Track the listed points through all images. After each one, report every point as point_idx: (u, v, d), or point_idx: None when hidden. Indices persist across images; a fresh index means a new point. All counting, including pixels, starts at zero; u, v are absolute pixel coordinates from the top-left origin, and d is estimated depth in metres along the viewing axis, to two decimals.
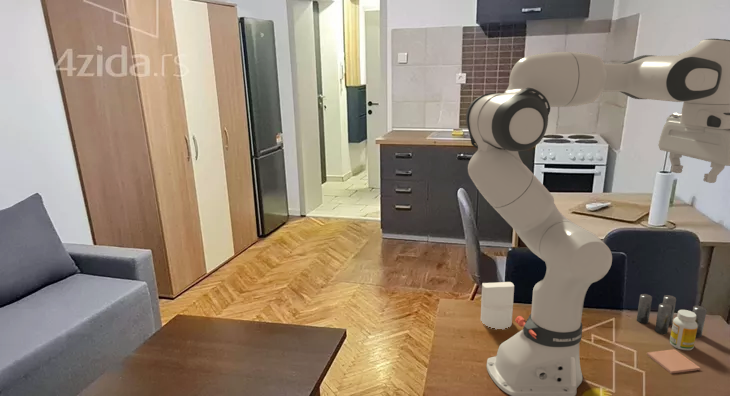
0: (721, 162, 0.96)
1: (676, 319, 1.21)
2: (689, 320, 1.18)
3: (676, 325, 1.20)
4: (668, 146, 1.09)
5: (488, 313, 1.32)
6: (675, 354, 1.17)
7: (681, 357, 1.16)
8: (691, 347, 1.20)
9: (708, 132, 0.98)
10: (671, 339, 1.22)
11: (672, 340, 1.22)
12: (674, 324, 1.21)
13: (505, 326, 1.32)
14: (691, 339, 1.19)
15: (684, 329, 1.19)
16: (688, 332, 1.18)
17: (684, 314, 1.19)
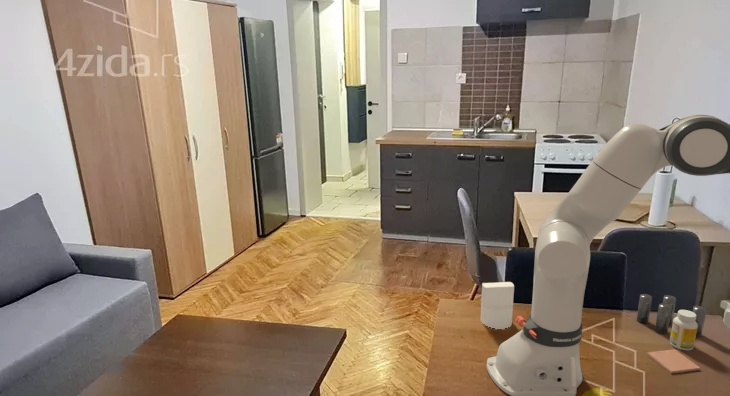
0: None
1: (676, 319, 1.21)
2: (689, 320, 1.18)
3: (676, 325, 1.20)
4: None
5: (488, 313, 1.32)
6: (675, 354, 1.17)
7: (681, 357, 1.16)
8: (691, 347, 1.20)
9: None
10: (671, 339, 1.22)
11: (672, 340, 1.22)
12: (674, 324, 1.21)
13: (505, 326, 1.32)
14: (691, 338, 1.19)
15: (684, 329, 1.19)
16: (688, 332, 1.18)
17: (684, 314, 1.19)
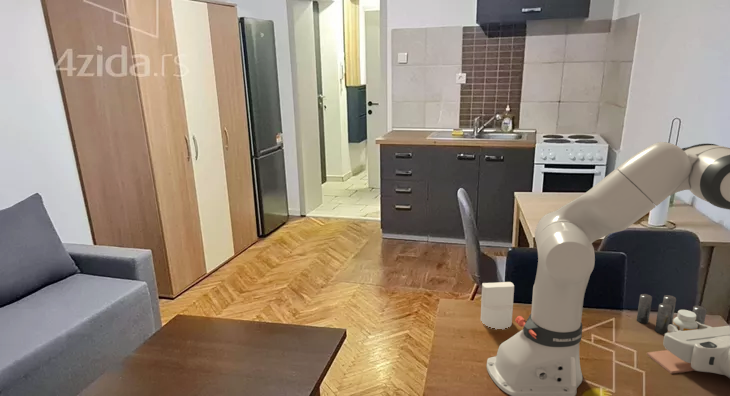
0: (670, 332, 1.15)
1: (676, 319, 1.21)
2: (689, 320, 1.18)
3: None
4: (724, 328, 1.17)
5: (488, 313, 1.32)
6: None
7: None
8: None
9: (703, 341, 1.10)
10: None
11: None
12: None
13: (505, 326, 1.32)
14: None
15: (684, 329, 1.19)
16: None
17: (684, 314, 1.19)
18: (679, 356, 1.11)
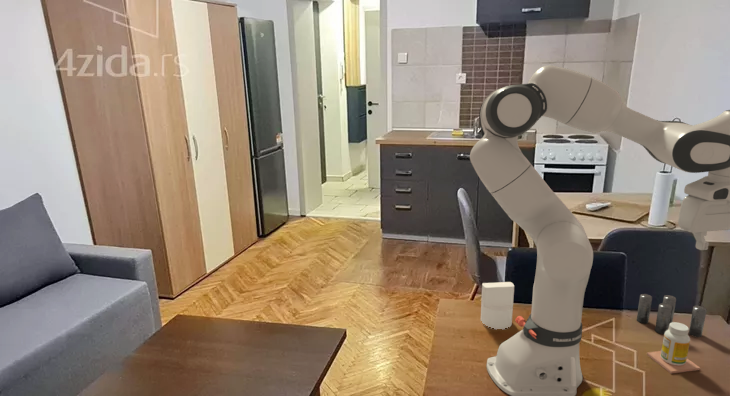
0: None
1: (667, 332, 1.14)
2: (681, 334, 1.11)
3: (668, 339, 1.13)
4: None
5: (488, 313, 1.32)
6: None
7: None
8: (683, 362, 1.13)
9: None
10: (662, 353, 1.15)
11: (663, 355, 1.15)
12: (665, 337, 1.14)
13: (505, 326, 1.32)
14: (683, 353, 1.12)
15: (676, 343, 1.12)
16: (680, 346, 1.11)
17: (676, 327, 1.12)
18: (695, 208, 0.96)
